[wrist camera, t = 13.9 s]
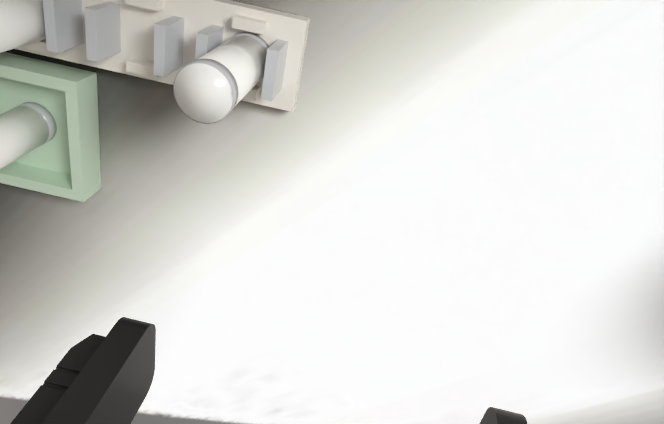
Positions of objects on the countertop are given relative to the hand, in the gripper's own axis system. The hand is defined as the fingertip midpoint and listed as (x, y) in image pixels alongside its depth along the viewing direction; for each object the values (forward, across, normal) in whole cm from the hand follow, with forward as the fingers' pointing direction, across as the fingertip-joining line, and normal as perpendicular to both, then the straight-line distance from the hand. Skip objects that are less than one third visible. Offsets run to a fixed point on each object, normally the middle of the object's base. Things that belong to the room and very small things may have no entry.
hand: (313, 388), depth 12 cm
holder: (+32, +18, +1) cm, 37 cm away
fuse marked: (+31, +28, +11) cm, 44 cm away
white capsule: (+30, +10, +1) cm, 32 cm away
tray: (+32, +28, +11) cm, 44 cm away
